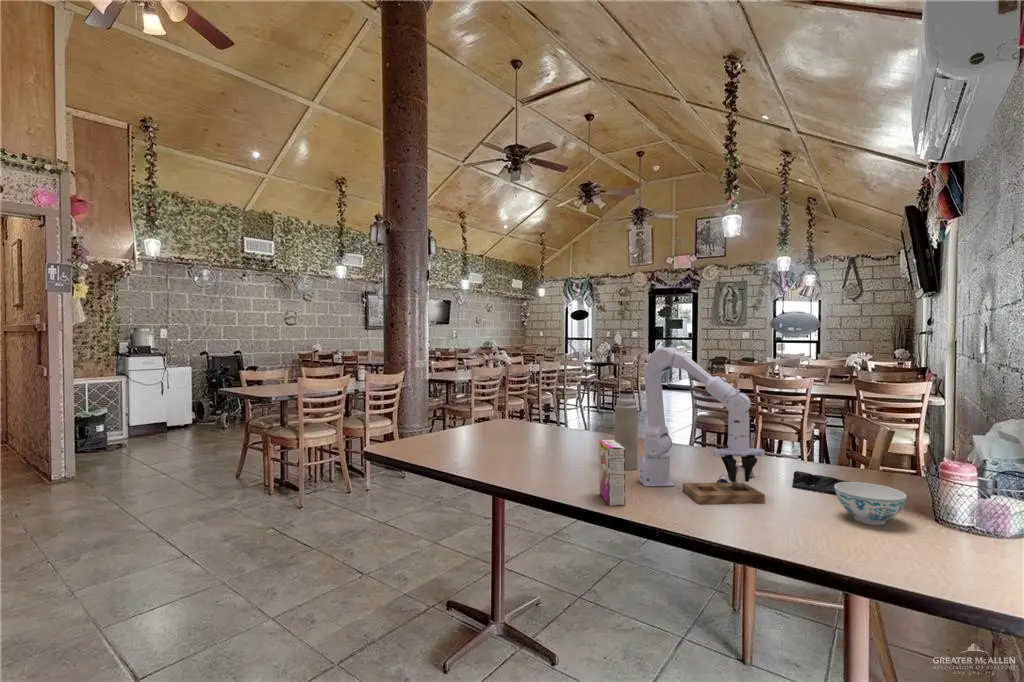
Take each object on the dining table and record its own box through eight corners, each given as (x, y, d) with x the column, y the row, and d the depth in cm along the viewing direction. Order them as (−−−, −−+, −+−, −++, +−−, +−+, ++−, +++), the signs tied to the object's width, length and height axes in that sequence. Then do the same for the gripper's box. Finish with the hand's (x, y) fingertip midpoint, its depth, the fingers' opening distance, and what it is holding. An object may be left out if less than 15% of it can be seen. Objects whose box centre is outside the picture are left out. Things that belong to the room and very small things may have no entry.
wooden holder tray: (698, 504, 140) (698, 495, 140) (682, 491, 152) (682, 483, 152) (764, 503, 141) (764, 494, 141) (743, 490, 153) (743, 482, 153)
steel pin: (735, 495, 145) (735, 467, 145) (729, 491, 148) (729, 464, 148) (748, 494, 145) (748, 467, 145) (741, 491, 148) (741, 464, 148)
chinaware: (910, 536, 117) (910, 503, 117) (834, 523, 125) (834, 493, 125) (902, 516, 130) (902, 487, 130) (833, 506, 138) (833, 479, 138)
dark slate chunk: (871, 505, 141) (871, 488, 141) (787, 488, 157) (787, 473, 157) (883, 493, 152) (883, 477, 152) (802, 478, 167) (802, 464, 167)
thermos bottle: (616, 464, 186) (616, 389, 186) (638, 465, 183) (638, 389, 183) (613, 469, 178) (613, 391, 178) (636, 471, 176) (636, 391, 176)
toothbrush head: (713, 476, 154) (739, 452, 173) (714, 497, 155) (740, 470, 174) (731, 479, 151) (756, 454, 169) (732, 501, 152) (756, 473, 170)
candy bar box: (598, 494, 150) (598, 439, 150) (614, 493, 150) (614, 439, 150) (608, 506, 138) (608, 447, 138) (626, 506, 139) (625, 447, 139)
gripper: (720, 437, 142) (720, 485, 142) (770, 437, 143) (770, 484, 143) (709, 433, 149) (710, 478, 149) (757, 432, 150) (757, 477, 150)
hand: (738, 480), depth 147 cm, fingers closed on steel pin, 4 cm apart
